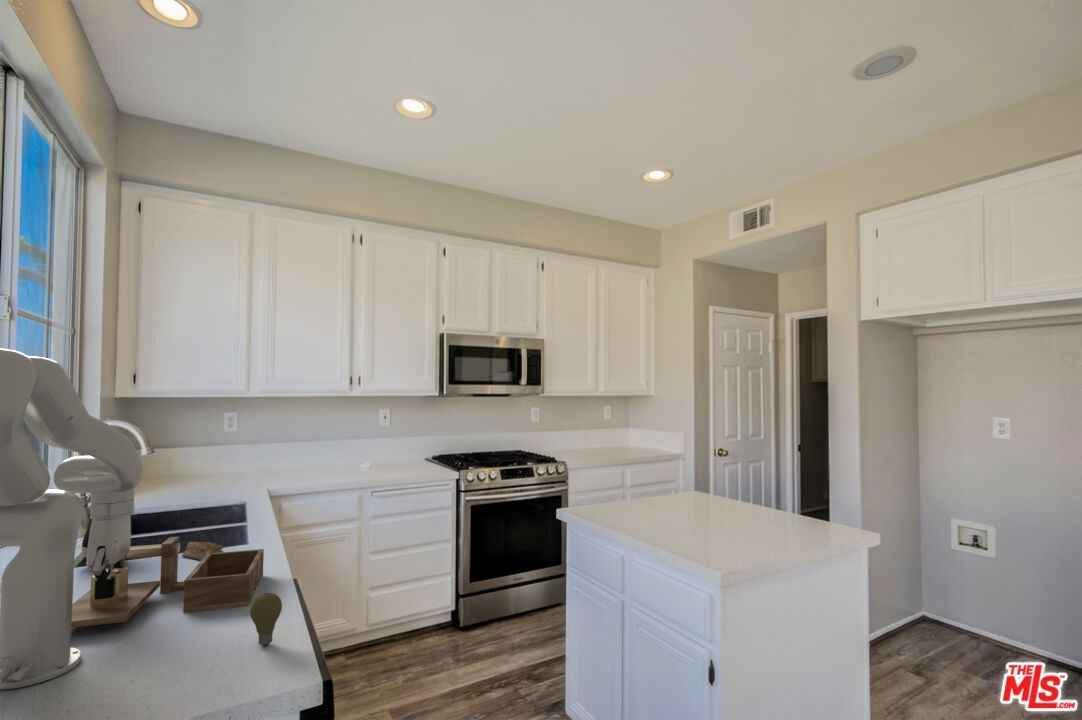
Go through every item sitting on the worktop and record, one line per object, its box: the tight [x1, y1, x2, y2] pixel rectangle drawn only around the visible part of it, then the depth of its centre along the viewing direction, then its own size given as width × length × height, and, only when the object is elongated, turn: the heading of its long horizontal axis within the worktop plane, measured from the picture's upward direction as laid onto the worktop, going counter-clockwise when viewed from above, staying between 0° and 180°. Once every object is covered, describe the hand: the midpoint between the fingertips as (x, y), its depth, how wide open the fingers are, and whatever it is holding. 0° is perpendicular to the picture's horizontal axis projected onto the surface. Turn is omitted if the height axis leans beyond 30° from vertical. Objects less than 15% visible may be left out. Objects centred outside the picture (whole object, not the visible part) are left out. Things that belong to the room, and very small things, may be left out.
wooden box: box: [159, 536, 265, 614], centre depth 132 cm, size 20×22×12 cm
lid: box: [71, 566, 160, 629], centre depth 119 cm, size 20×13×8 cm, turn 19°
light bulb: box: [249, 592, 283, 647], centre depth 107 cm, size 6×6×10 cm
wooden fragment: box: [181, 541, 224, 561], centre depth 164 cm, size 26×11×1 cm, turn 41°
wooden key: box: [125, 542, 181, 560], centre depth 134 cm, size 3×14×2 cm, turn 109°
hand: (109, 592), depth 119 cm, fingers closed on lid, 5 cm apart
